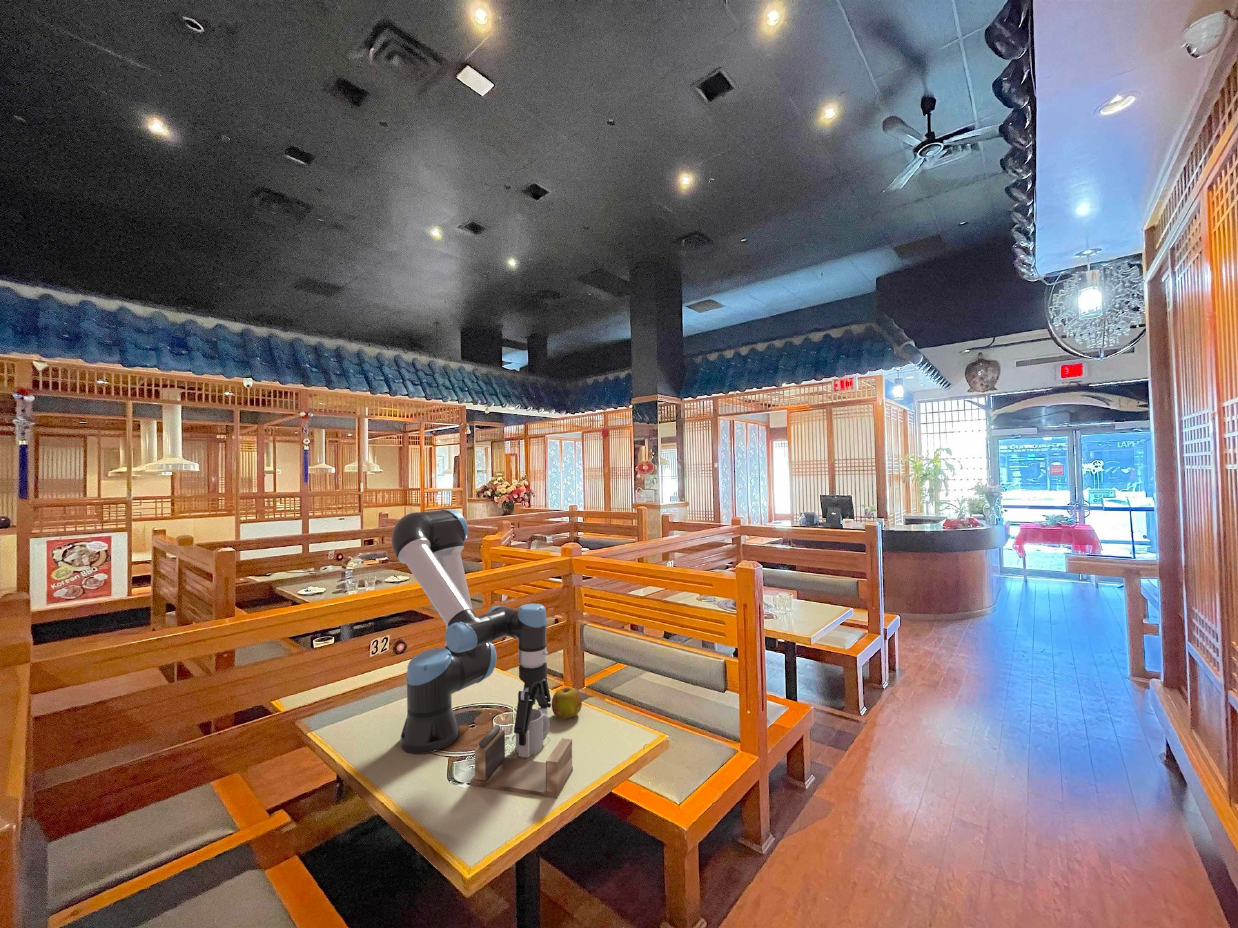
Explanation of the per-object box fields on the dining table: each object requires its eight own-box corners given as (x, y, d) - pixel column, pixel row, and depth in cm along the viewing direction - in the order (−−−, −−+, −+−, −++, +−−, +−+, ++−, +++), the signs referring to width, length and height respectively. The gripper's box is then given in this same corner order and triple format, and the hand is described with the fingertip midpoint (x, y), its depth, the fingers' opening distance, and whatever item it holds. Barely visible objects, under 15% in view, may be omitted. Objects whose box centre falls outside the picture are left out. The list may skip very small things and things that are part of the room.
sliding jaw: (475, 778, 120) (474, 742, 120) (495, 755, 130) (494, 722, 130) (486, 780, 120) (486, 744, 120) (505, 757, 129) (505, 723, 129)
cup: (510, 747, 136) (510, 714, 136) (542, 734, 143) (542, 703, 143) (524, 759, 131) (524, 724, 131) (556, 745, 137) (556, 712, 137)
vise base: (470, 784, 120) (469, 751, 120) (492, 759, 131) (492, 728, 131) (556, 798, 115) (556, 763, 115) (572, 770, 125) (572, 738, 126)
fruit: (562, 706, 160) (562, 680, 160) (587, 711, 156) (587, 685, 156) (545, 719, 151) (545, 693, 151) (571, 726, 147) (571, 698, 147)
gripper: (527, 682, 124) (528, 770, 124) (561, 648, 148) (562, 722, 147) (499, 679, 126) (500, 766, 126) (537, 646, 149) (538, 720, 149)
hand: (533, 743), depth 137 cm, fingers open, 12 cm apart
